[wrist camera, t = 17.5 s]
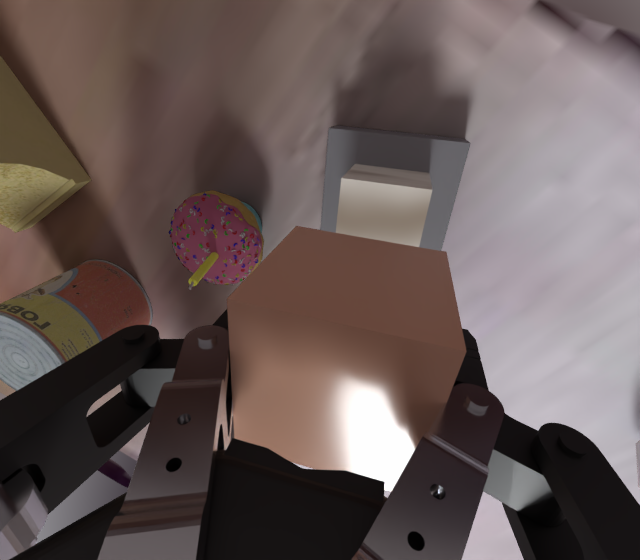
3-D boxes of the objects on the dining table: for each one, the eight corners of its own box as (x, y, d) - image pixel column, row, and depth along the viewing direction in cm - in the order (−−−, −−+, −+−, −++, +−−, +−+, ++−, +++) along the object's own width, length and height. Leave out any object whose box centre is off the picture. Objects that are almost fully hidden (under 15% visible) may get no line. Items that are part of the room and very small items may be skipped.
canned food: (118, 248, 39) (12, 301, 29) (168, 327, 43) (91, 398, 33) (58, 271, 44) (-52, 324, 33) (109, 341, 48) (24, 407, 37)
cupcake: (287, 198, 32) (225, 246, 21) (270, 274, 36) (212, 344, 25) (204, 169, 32) (104, 201, 22) (197, 247, 37) (111, 304, 26)
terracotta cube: (411, 368, 15) (410, 497, 10) (289, 340, 15) (234, 445, 11) (446, 252, 12) (466, 351, 7) (296, 225, 13) (226, 298, 8)
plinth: (433, 257, 31) (435, 271, 28) (326, 239, 32) (318, 251, 30) (465, 138, 26) (470, 143, 23) (336, 125, 28) (328, 127, 25)
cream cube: (413, 242, 27) (413, 272, 23) (346, 232, 28) (332, 258, 24) (429, 172, 25) (432, 189, 20) (355, 163, 26) (341, 177, 21)
